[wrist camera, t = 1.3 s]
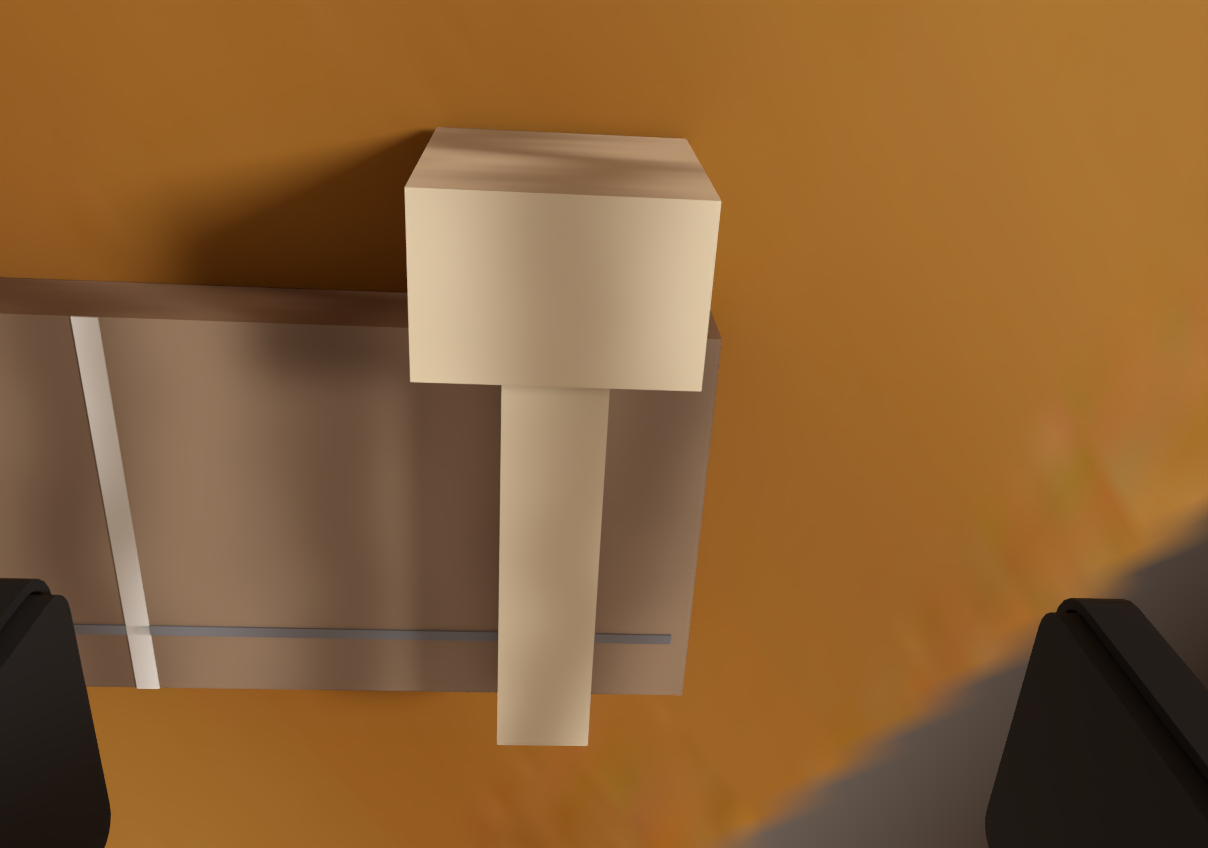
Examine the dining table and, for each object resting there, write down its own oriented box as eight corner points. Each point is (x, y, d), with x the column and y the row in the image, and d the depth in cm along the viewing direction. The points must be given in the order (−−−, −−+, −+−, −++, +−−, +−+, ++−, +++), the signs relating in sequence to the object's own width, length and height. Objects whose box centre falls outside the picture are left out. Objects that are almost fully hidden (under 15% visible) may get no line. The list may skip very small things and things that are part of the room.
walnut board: (5, 628, 31) (-38, 686, 29) (-80, 274, 26) (-140, 309, 24) (673, 640, 32) (682, 696, 30) (707, 304, 28) (721, 340, 25)
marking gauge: (444, 637, 32) (421, 786, 26) (436, 126, 25) (404, 187, 20) (642, 641, 32) (660, 788, 27) (686, 138, 25) (721, 201, 20)
